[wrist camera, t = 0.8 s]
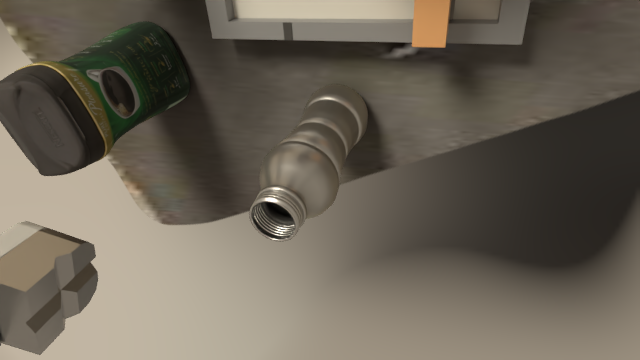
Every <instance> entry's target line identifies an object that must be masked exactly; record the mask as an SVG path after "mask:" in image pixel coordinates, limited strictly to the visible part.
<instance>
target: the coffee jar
mask: <svg viewBox="0 0 640 360" xmlns="http://www.w3.org/2000/svg"><path fill="white" fill-rule="evenodd" d="M189 90H190V82H189V78H188V75H187V72H186V69H185V67H184V64H183V62H182V60H181V58H180V56H179V54H178V51H177V50H176V48H175V46H174V44H173V42H172V41H171V39H170V37H169V36H168V34H167V33H166V32H165V31H164V30H163V29H162V28H161V27H160V26H158V25H156V24H154V23H151V22H146V21H145V22H138V23H134V24H131V25H128V26H126V27H123V28H121V29H119V30H117V31H115V32H113V33H112V34H110V35H108V36H107V37H105V38H103V39H102V40H100V41H98V42H97V43H95V44H93V45H92V46H90V47H88V48H87V49H85V50H83V51H81V52H79V53H77V54H75V55H73V56H71V57H69V58H67V59H64V60H62V61H59V62H54V61H44V62H37V63H33V64H30V65H27V66H25V67H22V68H20V69H18V70H16V71H15V72H14V73H12V74H10V75H9V76H7V77H6V78H4V79H3V80H1V81H0V121H1V123H2V124H3V126H4V127H5V128H6V130H7V131H8V133H9V134H10V135H11V137H12V138H13V139H14V141H15V142H16V143H17V145H18V146H19V147H20V149H21V150H22V151H23V153H24V154H25V156H26V157H27V158H28V159H29V160H30V161H31V163H32V164H33V165H34V166H35V167H36V168H37V169H38V170H39V173H40V174H41V175H44V176H57V175H64V174H68V173H71V172H74V171H76V170H79V169H82V168H84V167H86V166H87V165H90V164H92V163H94V162H96V161H99V160H100V159H102V158H103V157H105V156H106V155H107V154H108V153H109V152H110V150H111V149H112V147H113V145H114V143H115V142H116V141H117V140H118V139H119V138H120V137H121V136H122V135H124V134H125V133H126V132H128V131H129V130H131V129H132V128H134V127H135V126H137V125H139V124H141V123H142V122H144V121H146V120H148V119H150V118H152V117H153V116H155V115H157V114H159V113H161V112H163V111H165V110H167V109H169V108H171V107H173V106H174V105H176V104H178V103H179V102H181V101H182V100H183V99H185V98H186V97H187V95H188V93H189Z"/></svg>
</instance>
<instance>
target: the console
mask: <svg viewBox="0 0 640 360" xmlns="http://www.w3.org/2000/svg"><path fill="white" fill-rule="evenodd" d="M205 1H206V6H207V12H208V17H209V22H210V27H211V33H212V38H213V39H258V40H308V41H359V42H409V43H412V34H413V17H414V0H205ZM529 5H530V0H455V9H454V18H453V20H449V28H448V34H447V40H446V43H459V44H509V45H522V41H523V36H524V30H525V25H526V20H527V15H528V10H529Z"/></svg>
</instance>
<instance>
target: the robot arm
mask: <svg viewBox="0 0 640 360" xmlns="http://www.w3.org/2000/svg"><path fill="white" fill-rule="evenodd" d="M95 256H96V255H95V248H94V245H93V244H91V243H89V242H86V241H84V240H81V239H78V238H75V237H72V236H69V235H66V234H64V233H60V232H57V231H55V230H51V229H49V228H45V227H43V226H40V225H37V224H34V223H31V222H28V221H26V222H21V223H17V224H16V225H14V226H13V227H11V228H10V229H8V230H7V231H6V232H4V233H2V234H1V235H0V346H1V343H3V344H6V345H10V346H13V347H16V348H19V349H23V350H26V351H29V352H32V353H35V354H39V355H40V354H42V352H43V351H44V350H45V349H46V348H47V347H48V346H49V345H50V344H51V343H52V342H53V341H54V340H55V339H56V338H57V336H59V334H60V333H61V332H62V331H63V330H64V328H65V319H66V318H69V317H71V316H74V315H76V314H78V313H80V312H81V311H82V310H83V309H84V308H85V307H86V306H87V304H88V303H89V302H90V300H91V298H92V296H93V294H94V293H95V291H96V287H97V282H98V274H97V271H96V269H95V268H94V266H93V265H92V264H91V261H92V260H93V259H94V258H95Z"/></svg>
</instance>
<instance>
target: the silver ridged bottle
mask: <svg viewBox="0 0 640 360" xmlns="http://www.w3.org/2000/svg"><path fill="white" fill-rule="evenodd" d="M367 122H368V111H367V107H366V104H365V102H364V100H363V99H362V97H361V96H360V95H359V94H358V93H357V92H356V91H354V90H353V89H351V88H349V87H347V86H344V85H340V84H331V85H327V86H324V87H322V88H321V89H319V90H317V91H316V92H315V93H313V94H312V95H311V97H310V98H309V100H308V102H307V104H306V106H305V109H304V112H303V116H302V118H301V120H300V122H299V124H298V125H297V126H296V128H295V129H294V130H293V131H292V132H291V133H290V134H289V136H288V137H286V138H285V139H284V140H283V141H281V142H280V143H279V144H278V145H276V146H275V147H274V148H273V149H272V150H271V151H270V152H269V153H268V154H267V155H266V156H265V158H264V160H263V162H262V164H261V169H260V175H259V181H260V187H261V191H260V193H259V194H258V195H257V198H256V200H255V202H254V203H253V204H252V206H251V208H250V212H249V215H250V220H251V223H252V225H253V226H254V228H255V229H256V230H257V231H258V232H259V233H260V234H262V235H263V236H265V237H266V238H269V239H271V240H274V241H287V240H290V239H292V238H293V237H294V236H295V235H296V233H297V232H298V230H299V228H300V227H301V226H302V225H303V224H304V222H305V220H306V219H309V218H313V217H316V216H318V215H320V214H322V213H323V212H324V211H326V210H327V209H328V208H329V207H330V206H331V205H332V204H333V202H334V201H335V198H336V195H337V192H338V189H339V184H340V179H341V174H342V169H343V166H344V163H345V160H346V158H347V155H348V154H349V152H350V151H351V149H352V148H353V147H354V146H355V145H356V144H357V143H358V142H359V140H360V139H361V138H362V137H363V135H364V133H365V131H366V128H367Z"/></svg>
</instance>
